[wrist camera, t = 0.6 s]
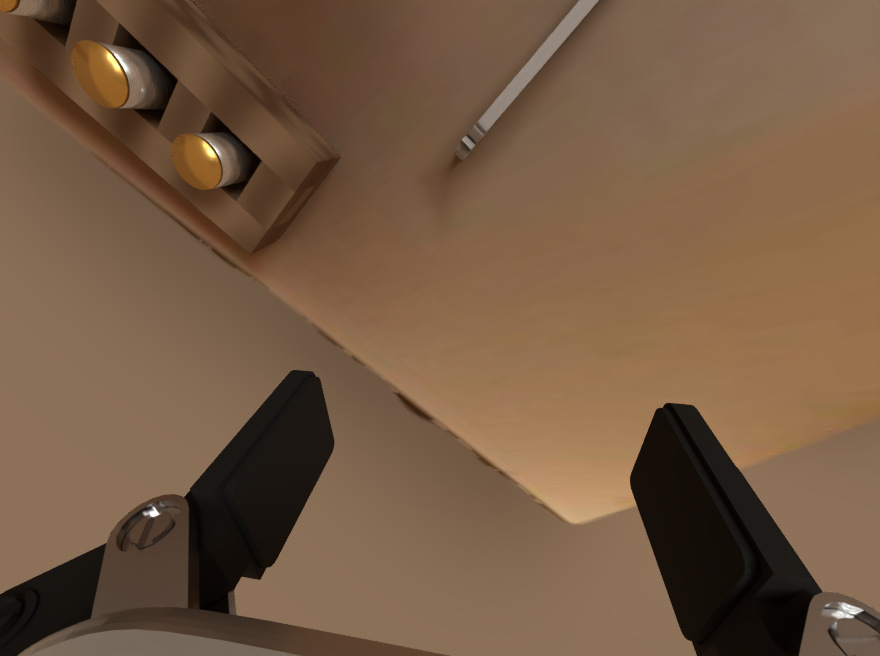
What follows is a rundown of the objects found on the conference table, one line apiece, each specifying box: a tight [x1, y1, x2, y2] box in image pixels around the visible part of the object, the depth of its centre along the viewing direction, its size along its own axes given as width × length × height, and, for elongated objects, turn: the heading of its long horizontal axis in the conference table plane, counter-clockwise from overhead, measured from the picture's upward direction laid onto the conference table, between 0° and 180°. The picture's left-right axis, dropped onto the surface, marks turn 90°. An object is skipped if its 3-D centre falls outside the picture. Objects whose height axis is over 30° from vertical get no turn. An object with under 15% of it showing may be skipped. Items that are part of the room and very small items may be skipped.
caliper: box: [454, 0, 599, 161], centre depth 25 cm, size 20×1×6 cm, turn 138°
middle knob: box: [71, 40, 175, 110], centre depth 27 cm, size 4×4×5 cm
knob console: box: [0, 0, 340, 254], centre depth 30 cm, size 28×12×5 cm, turn 44°
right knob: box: [171, 132, 255, 190], centre depth 30 cm, size 4×4×5 cm
